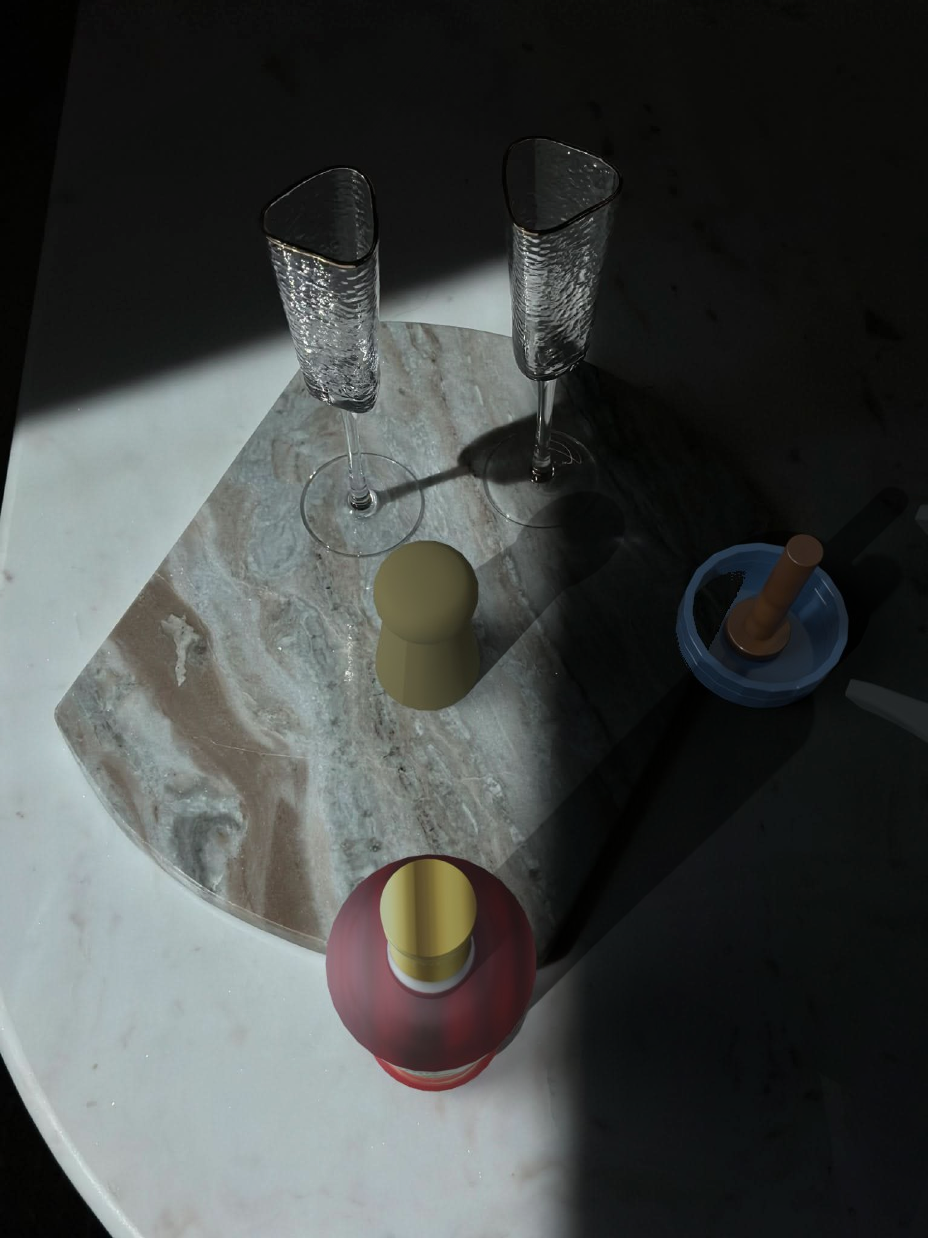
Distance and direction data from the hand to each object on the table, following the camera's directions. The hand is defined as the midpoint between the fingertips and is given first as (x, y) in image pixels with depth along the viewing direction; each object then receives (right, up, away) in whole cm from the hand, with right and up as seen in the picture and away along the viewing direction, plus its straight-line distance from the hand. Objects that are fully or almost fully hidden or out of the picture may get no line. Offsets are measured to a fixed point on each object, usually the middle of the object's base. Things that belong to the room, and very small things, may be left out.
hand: (890, 606), depth 47 cm
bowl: (-1, -2, +19) cm, 19 cm away
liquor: (-19, -20, +11) cm, 30 cm away
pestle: (-1, -1, +19) cm, 19 cm away
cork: (-19, -3, +19) cm, 27 cm away
